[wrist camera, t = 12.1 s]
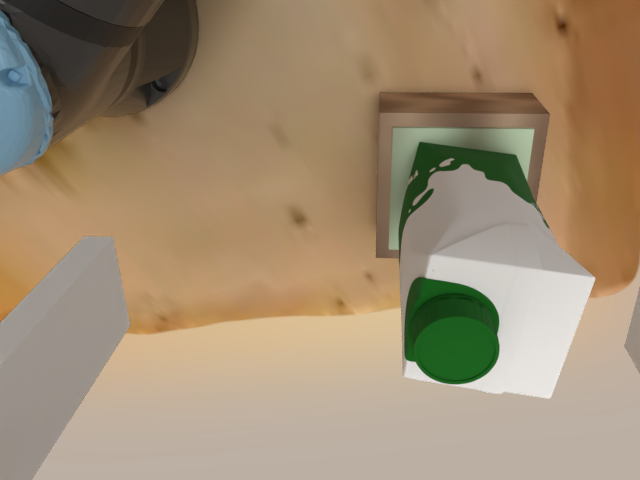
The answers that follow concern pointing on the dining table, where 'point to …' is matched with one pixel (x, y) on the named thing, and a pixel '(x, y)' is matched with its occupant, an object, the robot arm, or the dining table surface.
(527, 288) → the soya milk
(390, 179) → the step block
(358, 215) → the dining table surface
